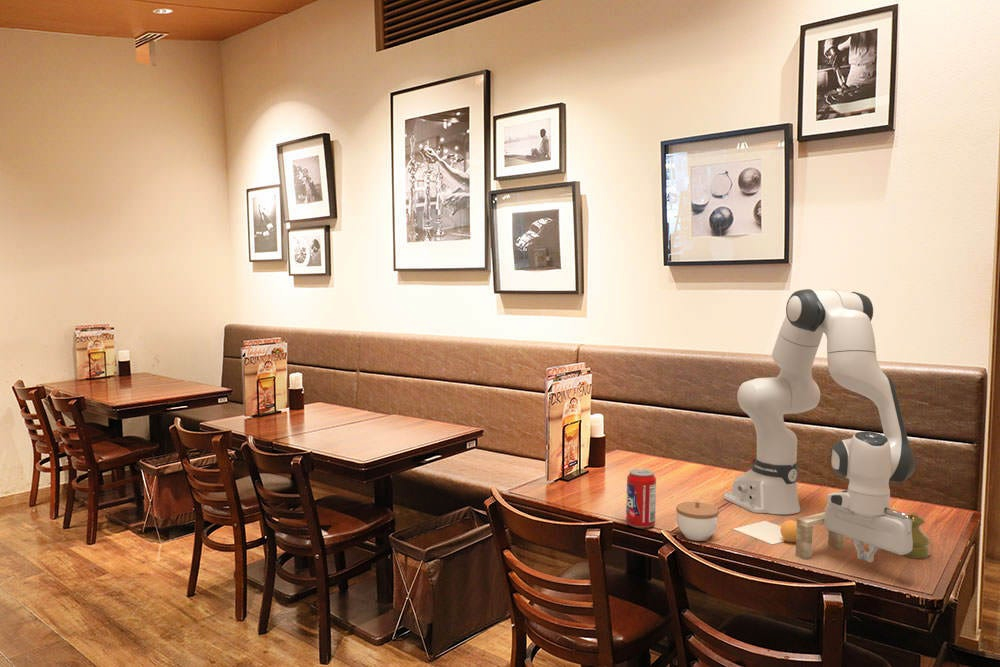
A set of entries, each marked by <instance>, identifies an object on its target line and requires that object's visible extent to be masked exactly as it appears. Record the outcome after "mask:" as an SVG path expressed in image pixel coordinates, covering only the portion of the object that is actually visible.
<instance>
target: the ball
mask: <svg viewBox="0 0 1000 667" xmlns="http://www.w3.org/2000/svg"><path fill="white" fill-rule="evenodd" d="M780 526H781V529H780V532H781V535H782V537H783V538H784V539H785V540H787V541H786V542H789V543H796V533H797V520H796V521H795V520H791V519H790V520H786V521H785V522H783V523H782V524H781V525H780Z"/></svg>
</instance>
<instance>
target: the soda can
mask: <svg viewBox="0 0 1000 667" xmlns="http://www.w3.org/2000/svg"><path fill="white" fill-rule="evenodd" d="M654 473H655V472H654V471H653V470H650V469H645V468H635V469H634V468H633V469H630V470H629V473H628V475H627V476H626V477H627V478H626V503H625V504H626V506H625V508H626V509H625V512H626V513H625V515H626V516H625V520H626V524H627V525H629V526H631V527H632V528H636V529H649V528H651V527H653V526H654V525H655V524H656V505H657V504H656V503H657V502H656V499H657V477H656V476H655V474H654Z"/></svg>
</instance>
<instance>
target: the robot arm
mask: <svg viewBox="0 0 1000 667" xmlns="http://www.w3.org/2000/svg"><path fill="white" fill-rule="evenodd" d="M785 313H786V314H785V317H784V320H783V322H782V324H781V326H780V329H779V332H778V334H777V338H776V341H775V345H774V346H773V349H772V354H771V356H772V359H773V362H774V363H775V365H777V366H778V368H779V369H780V371H779V374H778V375H777V376H776V377H775V376H773V377H771V376H770V377H757V378H753V379H750V380H747V381H744V382H742V383H741V384H740V385H739V388H738V390H737V394H736V397H737V403H738V405H739V407H740V409H741V410H742V411H743V412H744V413H745V414H747V416H748V417H749V418H750V420H751V421H752V424H753V426H754V429H755V434H756V457H755V458H753V459H748V461H749V462H748V464H752V465H751V468H750V469H748V471H746V472H744V473H742V474H741V475H739V476H737V477H736V478H735V479H734V481H733V483H732V487H731V490H730V491H728V492H726V493H724V495H723V499H724V500H727V501H729V502H730V503H733V504H734V505H736V506H739V507H741V508H743V509H745V510H748V511H750V512H752V513H758V514H771V515H794V514H797V513H800V512H801V506H800V502H799V501H800V500H799V496H798V495H799V494H798V486H797V480H798V479H797V478H798V474H799V473H798V472H799V463H798V461H797V456H798V437H797V434H795V432H794V431H793V430H792V429H790V428H788V427H787V426H786V423H785V420H784V419H785V418H784V415H793V414H802V413H805V412H809V411H811V410H813V409H815V408H817V406H818V405H819V403H820V401H821V390H820V387H819V385H818V384H817V382H816V381H815V380H814V379H813V373H812V372H813V370H812V369H813V365H814V362H815V358H816V355H817V353H818V349H819V347H820V344H821V340H822V338H823V334H825V336H826V339H827V340H826V345H827V346H826V358H827V369H828V372H829V375H830V377H831V379H832V380H833V381H834V382H835V383H837V385H839V386H840V387H843V389H846V390H848V391H851V392H854V393H856V394H859V395H861V396H864V397H866V398H867V399H869V400H870V401H871V402H873V404H875V406H876V407H877V410H878V413H879V418H880V419H879V420H880V423H881V427H882V432H883V434H881V433H878V432H875V431H859V432H856V433H854V434H853V435H852V437H851V438H846V439H839V440H838V441H837V442H836V443H834V444H833V445H832V447H831V449H830V458H829V460H830V462H829V463H830V468H831V470H832V471H833V472H834V473H835V474H836V475H837V476H839V477H840V478H843V479H848V481H849V482H848V485H847V486H848V487H847V490H840V491H834V492H831V493H829V494H827V498H826V499H827V505H825V509H824V512H825V516H824V523H823V524H824V527H825V528H826V530H827V531H832V532H835V533H838V534H841V535H844V537H847V538H850V539H852V540H853V542H852V543H853V545H854V547H855V550H856V552H857V559H859V560H862V561H863V562H867V563H869V564H870V563H872V562H874V555H875V554H876V553H877V551H879V549H881V550H885V551H887V552H889V553H894V554H896V555H900V556H902V555H905V554H908V553H909V552H911V551H912V549H913V540H912V521H911V519H910V518H909V517H908V516H906V515H907V514H906V513H904V512H902V511H897V510H894V509H891V508H890V501H891V490H890V486H889V485H890V484H889V483H898V484H900V483H903V482H905V481H906V480H908V479H909V478H910V477H911V476H912V475H913V473H914V472H915V470H916V459H915V455H914V451H913V449H912V447H911V444H910V442H909V439H908V434H907V431H906V426H905V422H904V418H903V414H902V410H901V405H900V402H899V401H900V400H899V398H898V394H897V391H896V387H895V385H894V382H893V379H892V377H890V376H889V375H887V374H885V373H884V371H883V370H882V368H881V367H880V365H879V362H878V359H877V348H876V347H877V346H876V340H875V339H876V338H875V334H874V329H873V325H872V319H873V316H874V307H873V303H872V300H871V299H870V298H869V297H868V296H867V295H866V294H863V293H860V292H856V291H846V290H839V289H810V288H808V289H807V288H806V289H799V290H796V291H794V292H793V293H792V294H791V295H790V297H789V298H788V300H787V302H786V307H785ZM906 518H907V519H906ZM863 544H867V548H868V549H869V550H868V551H866V550H865V548H864V545H863Z"/></svg>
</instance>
